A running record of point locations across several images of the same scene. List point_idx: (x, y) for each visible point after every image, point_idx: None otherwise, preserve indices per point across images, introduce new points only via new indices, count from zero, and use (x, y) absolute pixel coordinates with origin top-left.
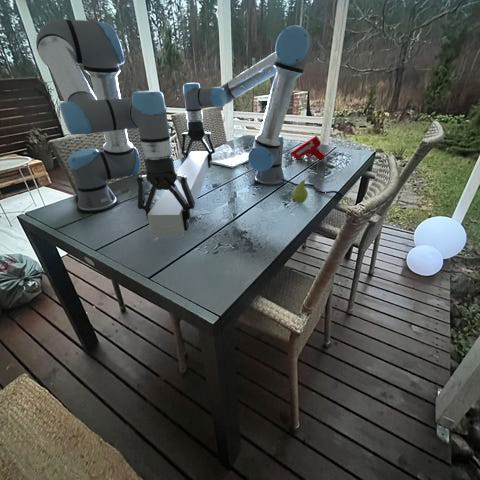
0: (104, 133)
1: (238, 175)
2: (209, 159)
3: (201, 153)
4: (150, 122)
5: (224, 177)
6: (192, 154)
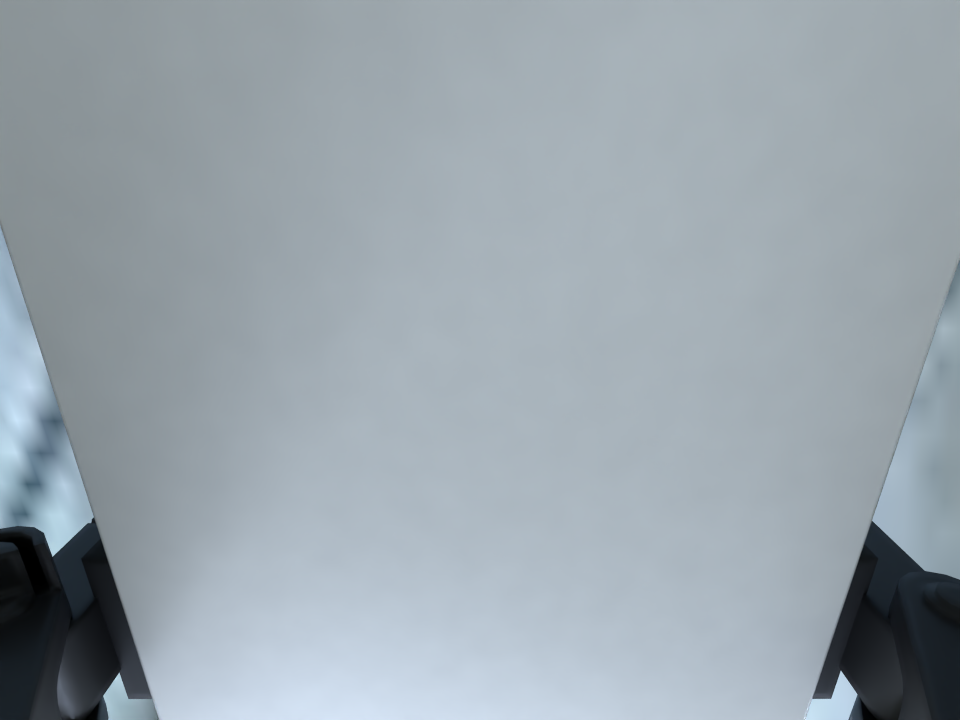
0: None
1: (51, 518)
2: None
3: (369, 663)
4: None
5: None
6: (708, 564)
